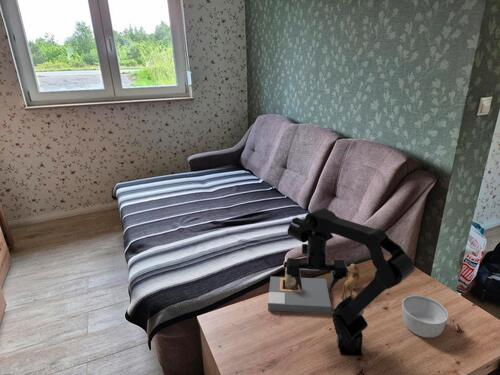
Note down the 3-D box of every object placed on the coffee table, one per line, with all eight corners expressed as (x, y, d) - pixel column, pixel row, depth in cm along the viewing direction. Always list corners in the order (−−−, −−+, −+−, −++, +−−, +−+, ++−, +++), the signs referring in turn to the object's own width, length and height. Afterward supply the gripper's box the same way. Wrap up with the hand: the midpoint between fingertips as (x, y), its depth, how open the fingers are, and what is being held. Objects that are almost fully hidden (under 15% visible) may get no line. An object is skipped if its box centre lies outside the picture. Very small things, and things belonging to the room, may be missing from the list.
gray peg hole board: (325, 285, 123) (325, 278, 122) (330, 313, 108) (330, 306, 107) (270, 282, 125) (270, 275, 124) (268, 310, 110) (267, 302, 109)
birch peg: (296, 289, 121) (297, 268, 117) (293, 296, 117) (294, 273, 114) (287, 287, 122) (287, 265, 119) (283, 293, 119) (283, 271, 115)
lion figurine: (345, 279, 126) (347, 260, 123) (359, 282, 123) (361, 263, 121) (339, 302, 113) (341, 281, 110) (354, 305, 111) (356, 285, 108)
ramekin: (449, 346, 93) (453, 328, 91) (401, 335, 98) (403, 318, 95) (440, 316, 105) (443, 299, 102) (397, 307, 109) (400, 291, 107)
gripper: (343, 236, 102) (340, 275, 107) (287, 234, 104) (286, 273, 109) (349, 253, 91) (346, 297, 96) (286, 251, 94) (286, 294, 99)
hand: (315, 289), depth 100 cm, fingers open, 9 cm apart
